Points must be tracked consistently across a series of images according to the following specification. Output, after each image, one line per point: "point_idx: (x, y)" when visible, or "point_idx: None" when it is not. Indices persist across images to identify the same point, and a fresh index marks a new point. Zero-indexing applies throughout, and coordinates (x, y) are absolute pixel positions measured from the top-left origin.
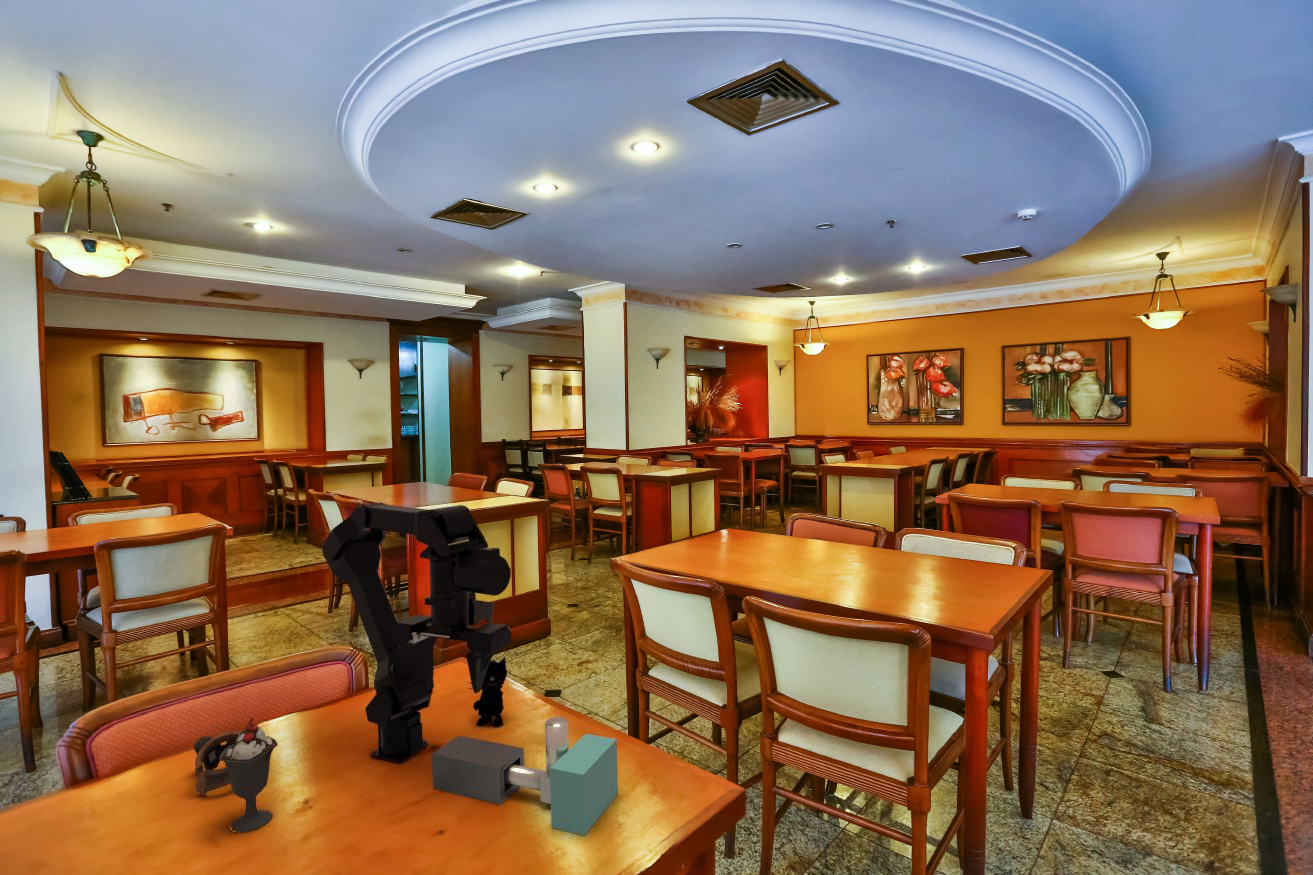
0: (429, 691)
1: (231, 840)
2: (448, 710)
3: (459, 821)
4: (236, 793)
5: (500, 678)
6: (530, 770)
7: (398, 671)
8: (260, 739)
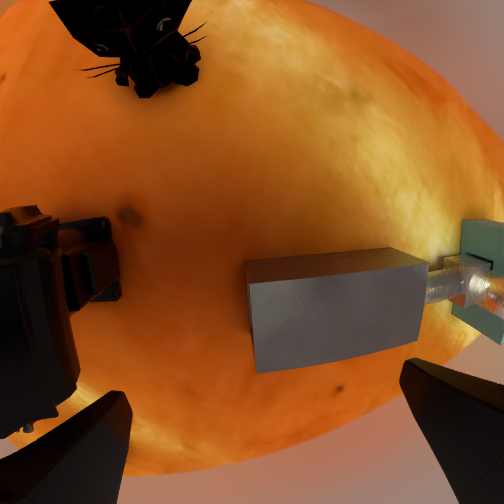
0: (57, 272)
1: (129, 457)
2: (52, 93)
3: (350, 366)
4: None
5: (182, 6)
6: (443, 294)
7: (4, 417)
8: None
